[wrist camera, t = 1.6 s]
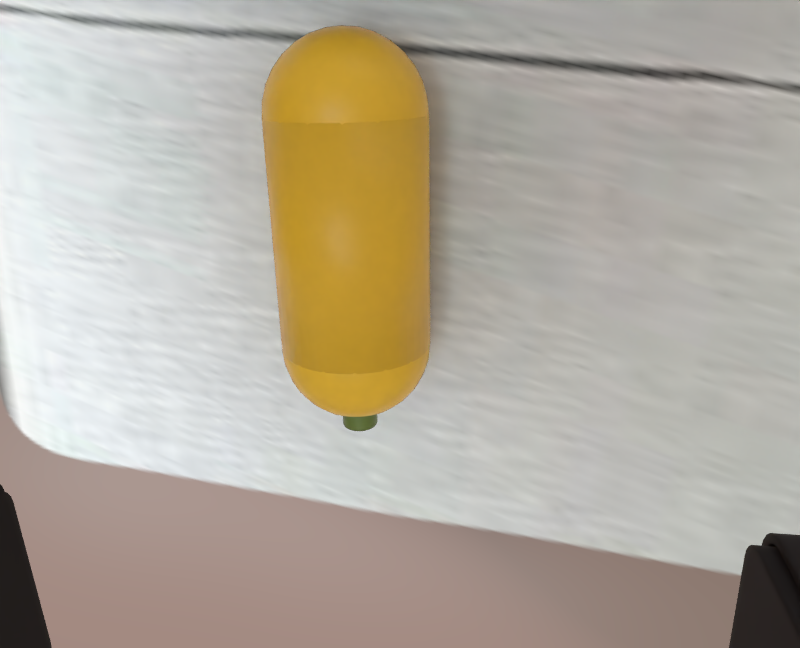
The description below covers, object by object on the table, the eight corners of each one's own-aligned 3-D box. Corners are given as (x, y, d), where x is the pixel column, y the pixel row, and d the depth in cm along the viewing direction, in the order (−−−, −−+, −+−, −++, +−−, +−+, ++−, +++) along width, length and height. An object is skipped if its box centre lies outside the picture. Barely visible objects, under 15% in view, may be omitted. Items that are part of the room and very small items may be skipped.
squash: (285, 30, 26) (225, 24, 21) (437, 25, 25) (415, 18, 20) (312, 388, 32) (269, 456, 26) (438, 395, 31) (420, 467, 25)
